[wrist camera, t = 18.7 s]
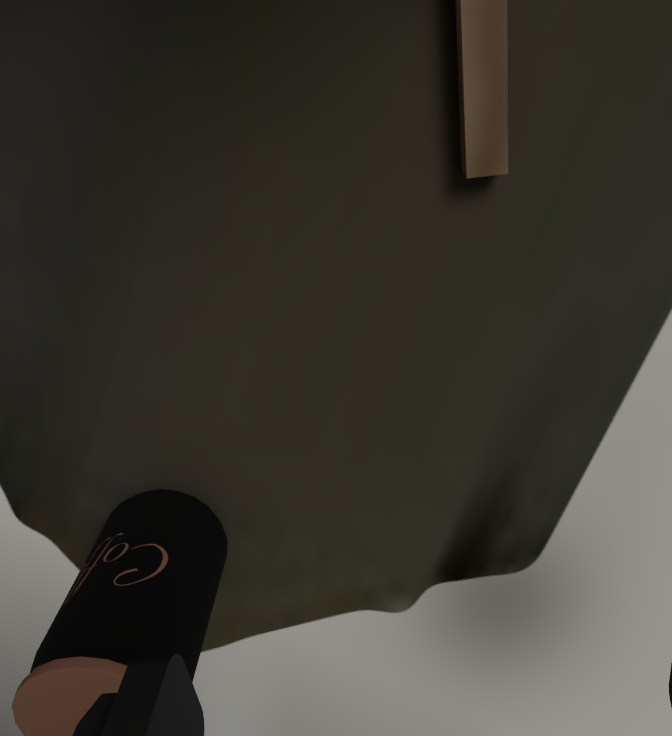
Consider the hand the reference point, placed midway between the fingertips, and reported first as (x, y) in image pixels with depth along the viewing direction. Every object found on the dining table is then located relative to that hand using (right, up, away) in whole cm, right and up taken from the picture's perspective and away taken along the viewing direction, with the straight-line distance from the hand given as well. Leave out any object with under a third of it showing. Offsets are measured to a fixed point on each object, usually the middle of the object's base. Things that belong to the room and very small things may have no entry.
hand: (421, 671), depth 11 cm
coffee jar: (-16, -9, +47) cm, 50 cm away
